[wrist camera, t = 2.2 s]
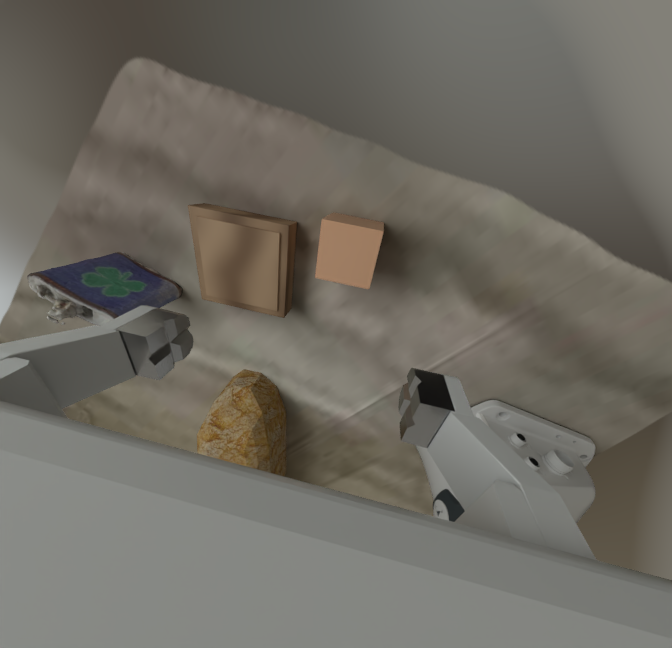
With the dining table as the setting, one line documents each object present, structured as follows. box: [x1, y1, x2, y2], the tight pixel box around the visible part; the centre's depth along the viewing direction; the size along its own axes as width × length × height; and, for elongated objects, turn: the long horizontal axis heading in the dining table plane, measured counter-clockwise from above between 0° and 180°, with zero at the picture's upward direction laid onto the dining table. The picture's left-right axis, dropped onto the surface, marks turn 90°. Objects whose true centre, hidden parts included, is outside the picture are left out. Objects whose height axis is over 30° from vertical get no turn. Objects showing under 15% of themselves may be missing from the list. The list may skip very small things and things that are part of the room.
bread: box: [197, 370, 286, 477], centre depth 42 cm, size 36×11×10 cm, turn 174°
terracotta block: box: [315, 212, 384, 289], centre depth 23 cm, size 5×5×5 cm
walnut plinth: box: [188, 203, 297, 318], centre depth 26 cm, size 10×10×3 cm
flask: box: [27, 252, 182, 326], centre depth 26 cm, size 9×3×11 cm, turn 60°
